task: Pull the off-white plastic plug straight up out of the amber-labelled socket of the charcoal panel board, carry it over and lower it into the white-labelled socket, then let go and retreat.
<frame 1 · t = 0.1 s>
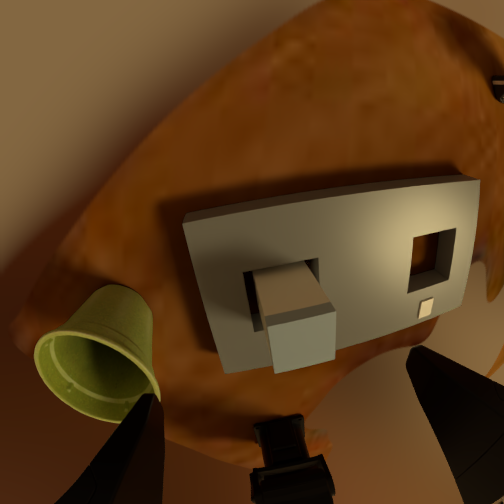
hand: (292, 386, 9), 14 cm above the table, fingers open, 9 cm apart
panel board: (356, 264, 24), on the table
plug: (278, 280, 24), resting in panel board
plant pot: (122, 312, 23), on the table
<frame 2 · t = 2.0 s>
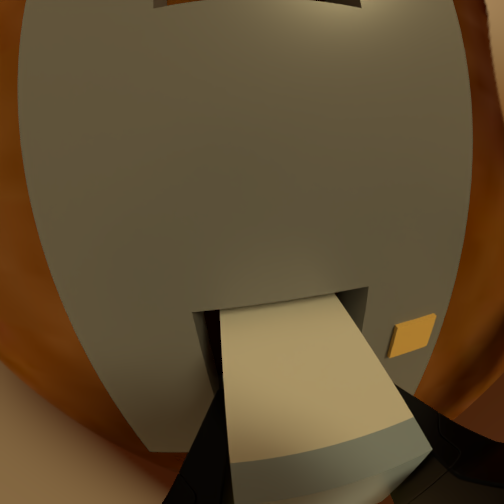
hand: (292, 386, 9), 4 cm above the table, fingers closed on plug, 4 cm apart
panel board: (262, 146, 9), on the table
plug: (273, 322, 12), resting in panel board, touching gripper
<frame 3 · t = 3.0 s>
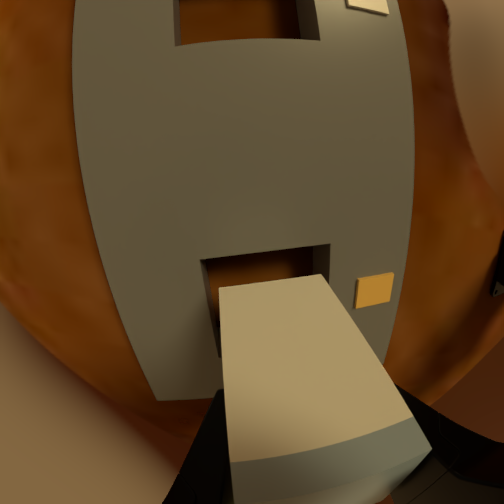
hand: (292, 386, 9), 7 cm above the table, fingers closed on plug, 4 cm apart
panel board: (251, 143, 12), on the table
plug: (273, 322, 12), point 4 cm above the table, touching gripper
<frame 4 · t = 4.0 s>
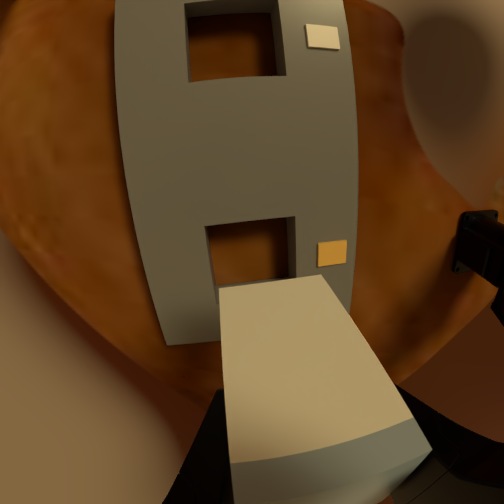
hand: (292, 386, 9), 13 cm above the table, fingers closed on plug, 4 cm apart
panel board: (240, 147, 18), on the table
plug: (273, 322, 12), point 9 cm above the table, touching gripper
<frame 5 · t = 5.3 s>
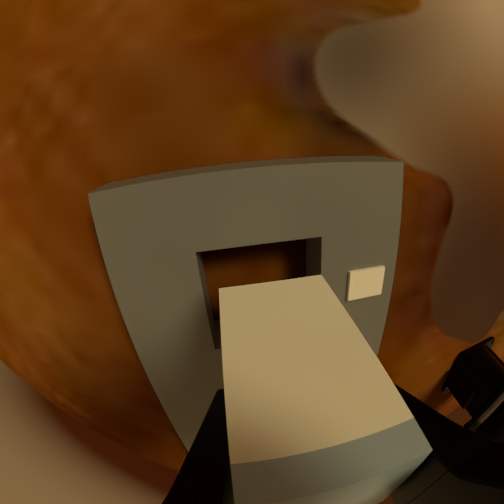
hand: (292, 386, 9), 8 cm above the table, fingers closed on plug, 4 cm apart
panel board: (264, 364, 18), on the table
plug: (273, 323, 12), point 4 cm above the table, touching gripper
when the fingers open (4 cm above the table, at t = 6.3 s): plug stays where it is, resting in panel board.
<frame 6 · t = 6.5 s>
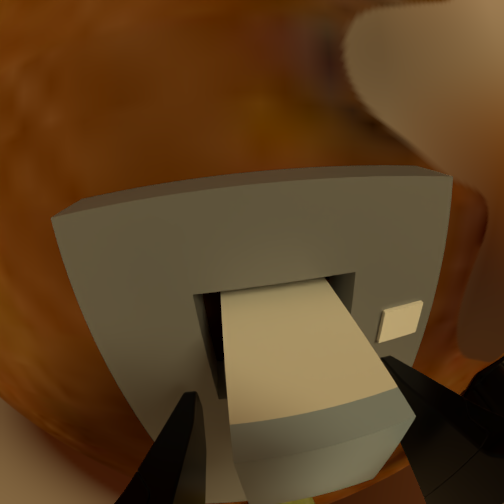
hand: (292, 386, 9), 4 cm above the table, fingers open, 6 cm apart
panel board: (274, 402, 15), on the table
plug: (270, 309, 13), resting in panel board
plant pot: (282, 492, 24), on the table
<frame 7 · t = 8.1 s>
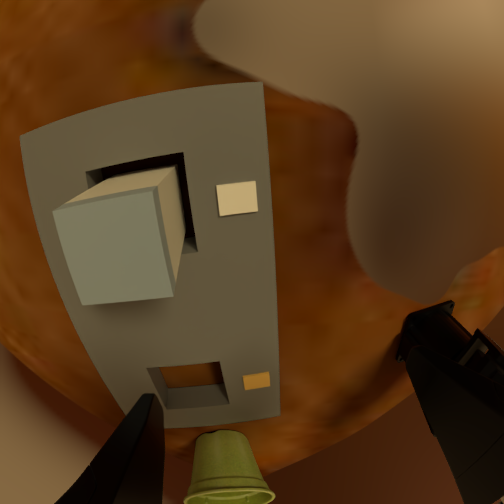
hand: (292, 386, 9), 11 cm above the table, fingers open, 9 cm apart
panel board: (170, 297, 20), on the table
plug: (150, 200, 17), resting in panel board
plant pot: (221, 439, 29), on the table
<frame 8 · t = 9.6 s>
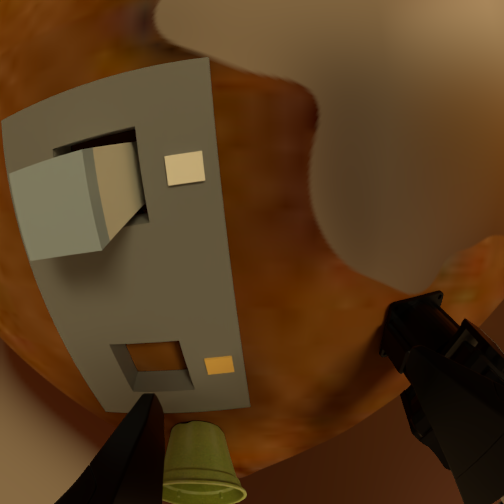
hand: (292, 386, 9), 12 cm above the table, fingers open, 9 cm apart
panel board: (133, 274, 19), on the table
plug: (112, 177, 17), resting in panel board
plant pot: (197, 431, 28), on the table
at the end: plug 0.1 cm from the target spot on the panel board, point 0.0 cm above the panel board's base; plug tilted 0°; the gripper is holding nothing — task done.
